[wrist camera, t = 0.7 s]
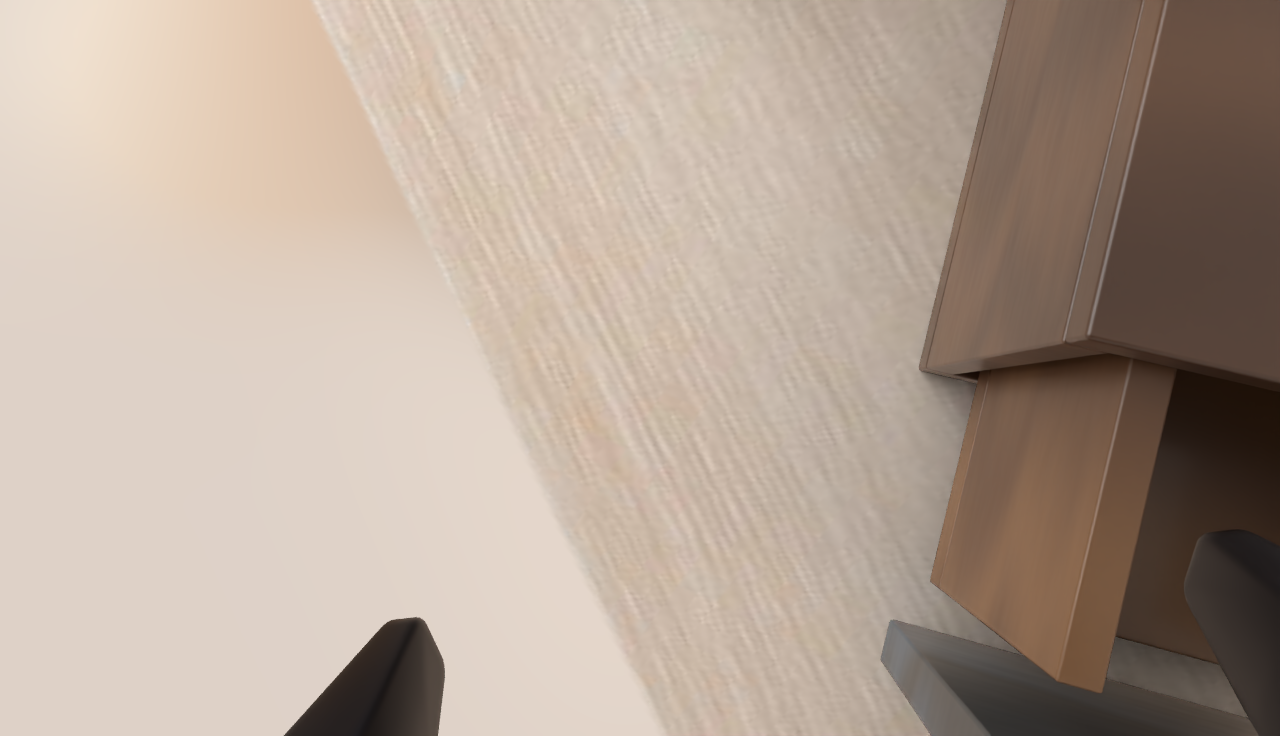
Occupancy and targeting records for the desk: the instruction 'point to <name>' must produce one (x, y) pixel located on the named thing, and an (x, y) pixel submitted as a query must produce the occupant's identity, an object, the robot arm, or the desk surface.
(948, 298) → the cabinet
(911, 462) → the desk surface
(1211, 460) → the drawer
